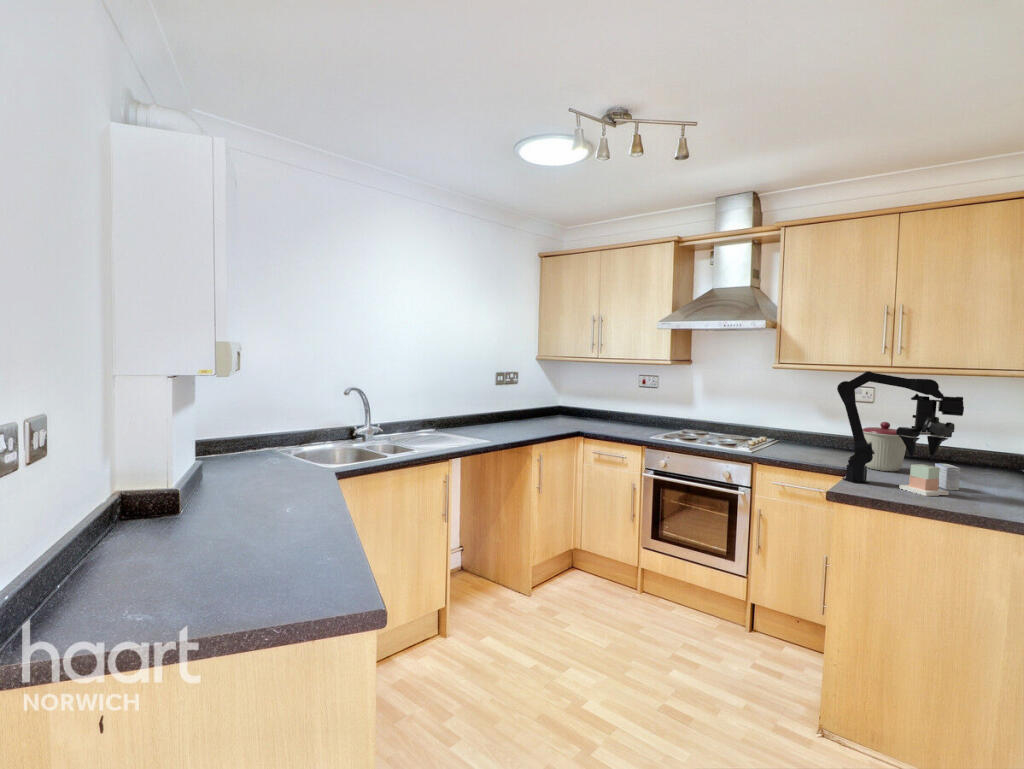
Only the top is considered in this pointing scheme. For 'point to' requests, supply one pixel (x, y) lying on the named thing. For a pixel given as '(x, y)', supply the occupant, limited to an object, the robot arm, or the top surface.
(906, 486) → the base plate
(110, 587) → the top surface
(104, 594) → the top surface
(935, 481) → the bottom brick
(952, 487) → the medicine box
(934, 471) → the pale green block
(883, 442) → the canister
